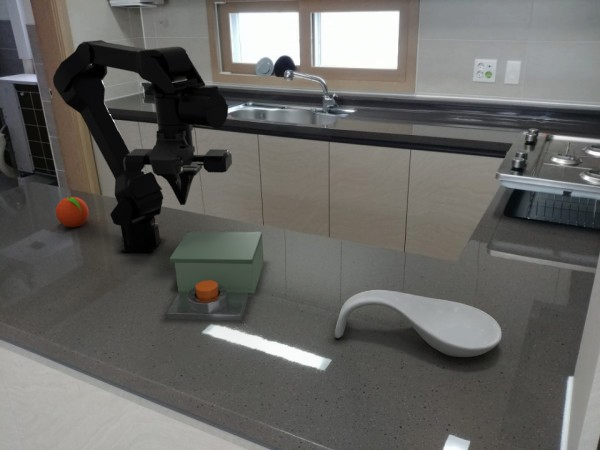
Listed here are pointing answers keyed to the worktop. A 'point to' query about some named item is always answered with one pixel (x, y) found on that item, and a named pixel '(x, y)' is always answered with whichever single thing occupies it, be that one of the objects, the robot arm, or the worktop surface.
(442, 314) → the spoon rest
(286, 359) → the worktop surface
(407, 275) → the worktop surface
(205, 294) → the button
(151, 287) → the worktop surface
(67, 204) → the clementine
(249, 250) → the lid
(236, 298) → the control panel
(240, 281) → the fryer
